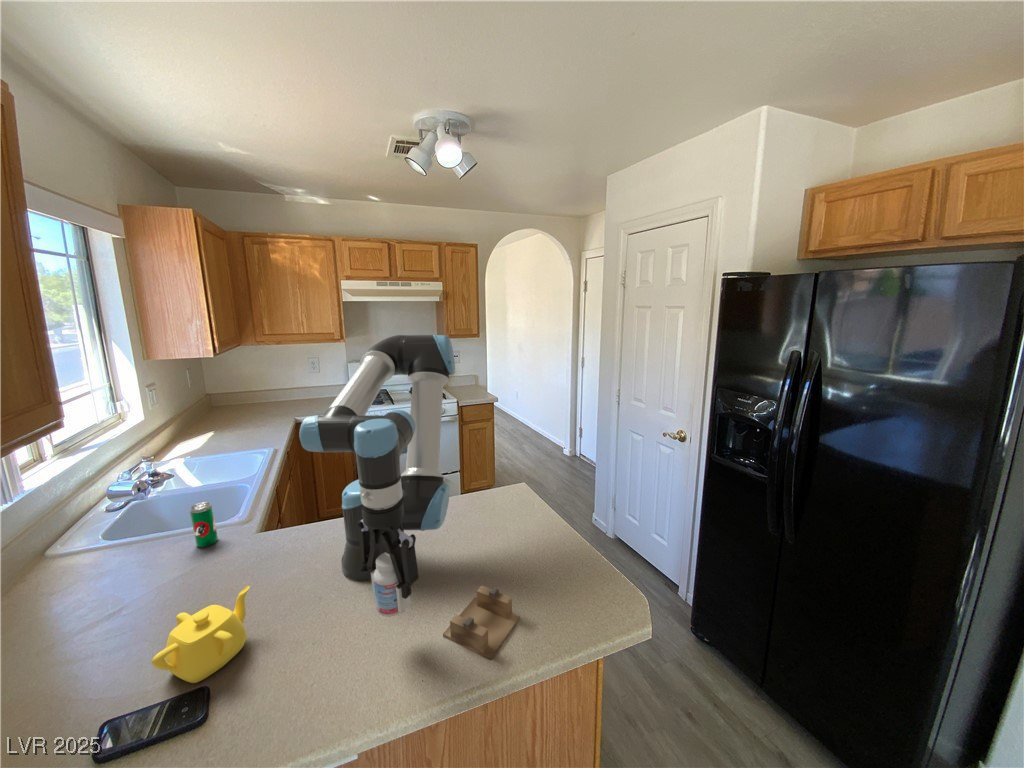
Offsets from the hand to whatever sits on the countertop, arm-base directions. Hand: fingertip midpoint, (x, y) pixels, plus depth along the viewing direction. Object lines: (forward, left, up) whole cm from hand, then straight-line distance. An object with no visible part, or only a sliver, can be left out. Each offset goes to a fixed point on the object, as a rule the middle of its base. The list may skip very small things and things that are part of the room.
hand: (391, 602), depth 83 cm
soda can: (-73, -2, -9) cm, 73 cm away
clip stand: (+14, +11, -9) cm, 20 cm away
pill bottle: (0, 0, -1) cm, 1 cm away
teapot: (-29, -21, -9) cm, 36 cm away
